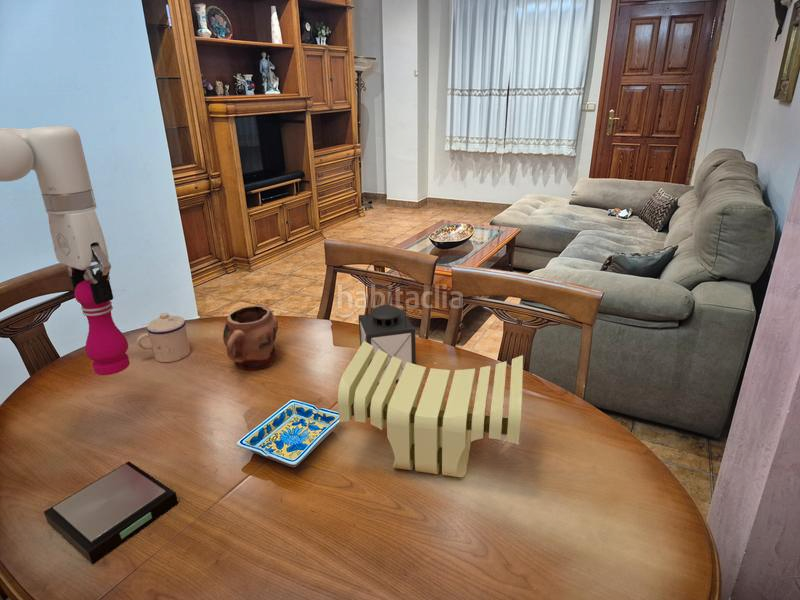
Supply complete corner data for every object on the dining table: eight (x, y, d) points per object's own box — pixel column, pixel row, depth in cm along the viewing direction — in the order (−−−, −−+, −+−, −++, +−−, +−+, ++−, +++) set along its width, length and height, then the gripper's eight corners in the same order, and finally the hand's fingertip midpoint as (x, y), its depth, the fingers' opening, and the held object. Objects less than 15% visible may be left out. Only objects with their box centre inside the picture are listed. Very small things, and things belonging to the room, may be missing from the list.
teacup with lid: (189, 343, 138) (181, 304, 134) (193, 358, 131) (185, 316, 126) (140, 354, 133) (130, 313, 129) (142, 369, 126) (131, 327, 121)
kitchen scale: (92, 564, 74) (87, 549, 73) (47, 523, 82) (42, 508, 80) (178, 503, 85) (175, 489, 84) (131, 471, 92) (128, 458, 91)
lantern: (360, 363, 126) (353, 255, 115) (404, 357, 129) (402, 251, 118) (369, 387, 116) (362, 272, 105) (416, 380, 119) (414, 266, 108)
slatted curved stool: (343, 469, 92) (336, 384, 85) (368, 417, 106) (364, 340, 99) (514, 494, 85) (521, 405, 78) (516, 435, 99) (522, 355, 92)
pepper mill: (125, 355, 106) (103, 263, 98) (138, 367, 101) (116, 271, 93) (86, 367, 101) (60, 271, 93) (98, 381, 96) (71, 281, 89)
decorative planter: (263, 388, 117) (255, 333, 112) (212, 385, 118) (202, 332, 113) (290, 346, 135) (284, 298, 130) (246, 345, 137) (238, 297, 131)
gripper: (23, 200, 90) (50, 295, 97) (72, 211, 81) (98, 315, 88) (68, 193, 96) (91, 283, 103) (118, 203, 87) (140, 301, 94)
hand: (94, 297), depth 95 cm, fingers closed on pepper mill, 6 cm apart
